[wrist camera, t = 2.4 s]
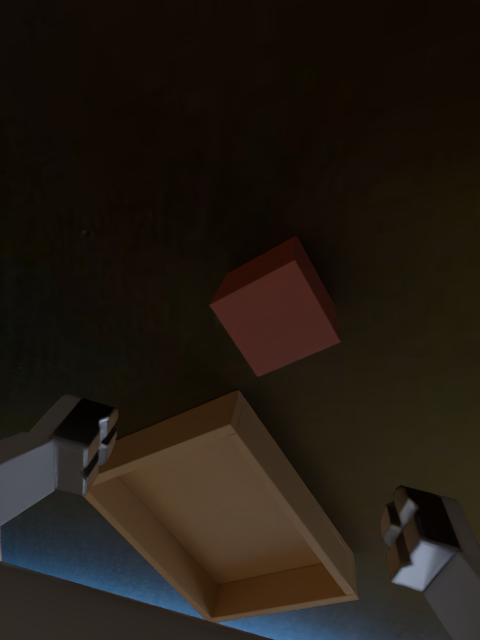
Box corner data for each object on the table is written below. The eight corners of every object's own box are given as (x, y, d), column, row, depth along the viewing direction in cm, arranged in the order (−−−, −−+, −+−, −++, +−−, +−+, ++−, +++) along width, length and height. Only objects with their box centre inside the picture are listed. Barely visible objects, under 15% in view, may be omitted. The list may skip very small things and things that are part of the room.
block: (333, 303, 23) (341, 342, 19) (265, 335, 25) (257, 377, 21) (296, 234, 22) (295, 259, 17) (226, 273, 24) (208, 304, 19)
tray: (353, 553, 33) (359, 599, 30) (217, 581, 39) (209, 624, 35) (238, 389, 27) (229, 424, 24) (95, 448, 33) (71, 484, 29)
